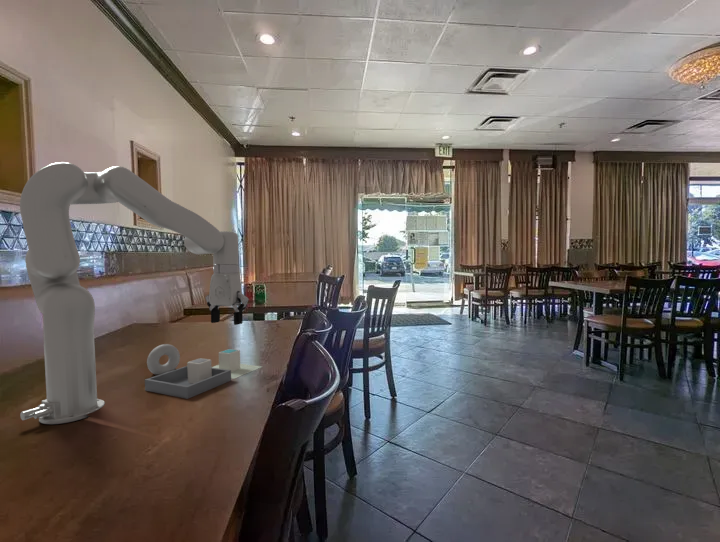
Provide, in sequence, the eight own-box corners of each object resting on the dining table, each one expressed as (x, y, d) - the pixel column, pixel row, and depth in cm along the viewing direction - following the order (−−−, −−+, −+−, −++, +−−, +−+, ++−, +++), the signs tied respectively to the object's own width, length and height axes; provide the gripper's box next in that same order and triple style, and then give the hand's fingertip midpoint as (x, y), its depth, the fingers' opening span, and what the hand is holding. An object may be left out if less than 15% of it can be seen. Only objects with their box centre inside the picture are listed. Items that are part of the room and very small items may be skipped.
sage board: (234, 382, 109) (233, 378, 109) (195, 375, 116) (195, 372, 116) (262, 369, 121) (262, 366, 121) (226, 364, 128) (226, 361, 128)
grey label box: (199, 384, 105) (198, 363, 104) (188, 382, 106) (187, 361, 106) (211, 379, 109) (211, 359, 109) (200, 377, 111) (200, 357, 110)
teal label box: (229, 372, 115) (229, 353, 115) (219, 370, 117) (218, 352, 117) (240, 368, 119) (239, 349, 119) (229, 366, 121) (229, 348, 121)
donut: (150, 380, 112) (149, 348, 112) (145, 378, 115) (144, 346, 114) (182, 371, 120) (181, 341, 120) (177, 370, 123) (176, 340, 122)
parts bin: (187, 402, 94) (187, 387, 94) (145, 393, 101) (144, 379, 101) (231, 383, 108) (230, 370, 108) (191, 377, 115) (190, 364, 115)
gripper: (197, 270, 117) (197, 323, 118) (238, 270, 110) (238, 326, 110) (215, 270, 124) (215, 320, 124) (255, 270, 117) (255, 323, 117)
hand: (226, 323), depth 117 cm, fingers open, 9 cm apart
